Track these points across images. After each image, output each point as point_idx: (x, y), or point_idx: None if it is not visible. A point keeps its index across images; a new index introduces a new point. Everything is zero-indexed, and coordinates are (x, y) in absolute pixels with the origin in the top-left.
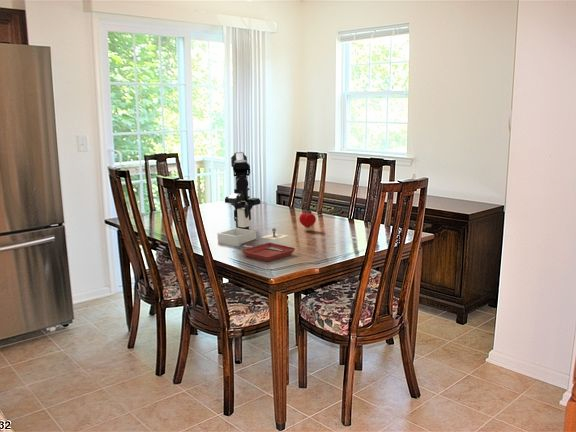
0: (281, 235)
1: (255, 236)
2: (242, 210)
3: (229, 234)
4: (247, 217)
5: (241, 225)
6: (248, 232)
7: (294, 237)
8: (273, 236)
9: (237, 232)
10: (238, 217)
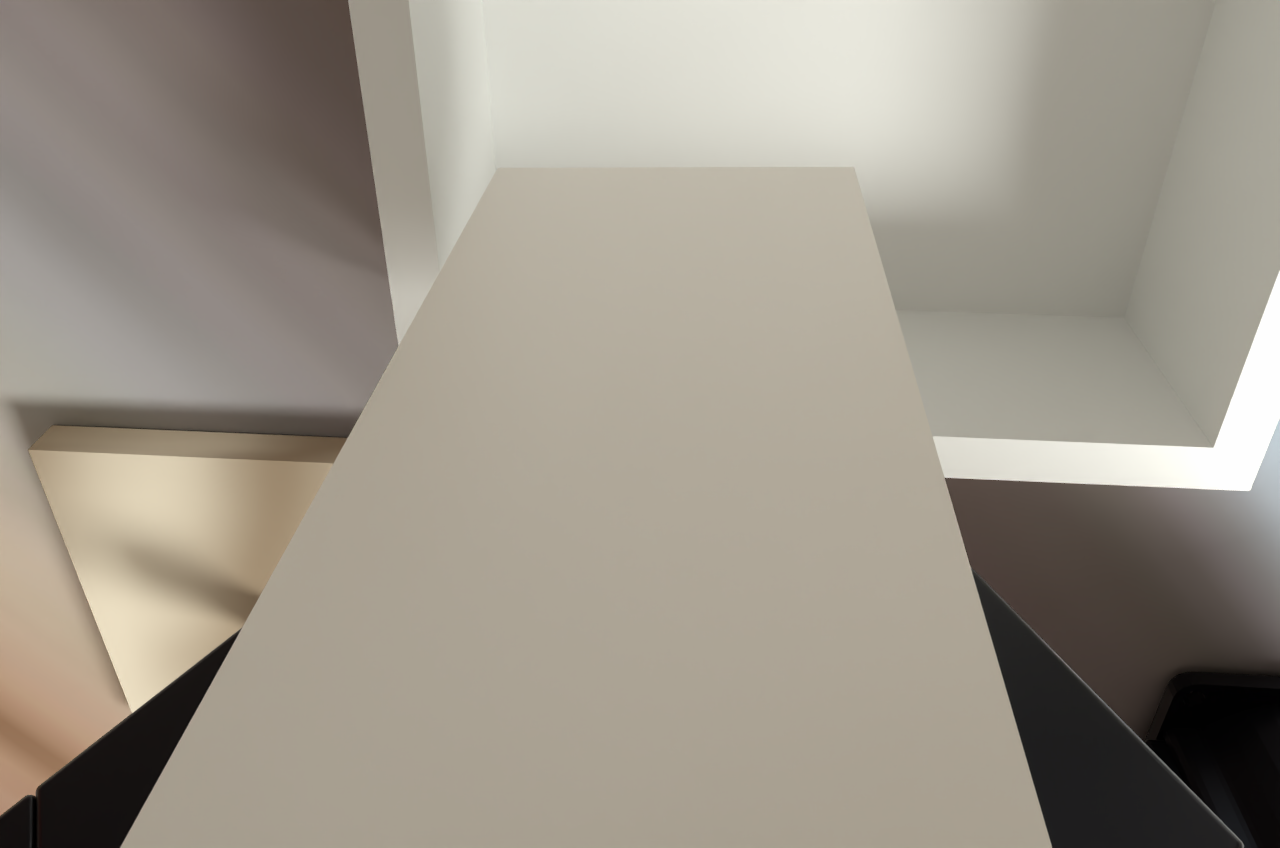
0: None
1: None
2: (269, 837)
3: (1256, 92)
4: None
5: (641, 196)
6: None
7: (82, 750)
8: None
9: (1100, 376)
10: (831, 387)
